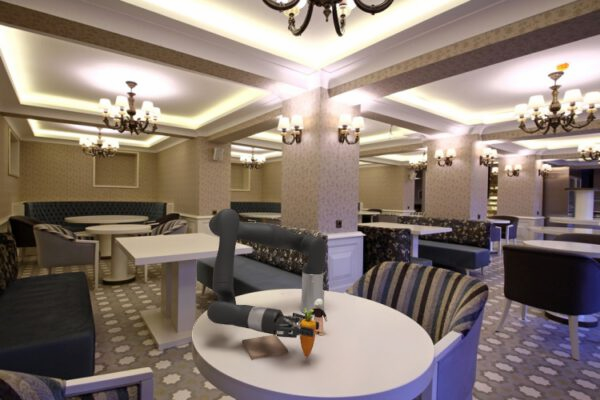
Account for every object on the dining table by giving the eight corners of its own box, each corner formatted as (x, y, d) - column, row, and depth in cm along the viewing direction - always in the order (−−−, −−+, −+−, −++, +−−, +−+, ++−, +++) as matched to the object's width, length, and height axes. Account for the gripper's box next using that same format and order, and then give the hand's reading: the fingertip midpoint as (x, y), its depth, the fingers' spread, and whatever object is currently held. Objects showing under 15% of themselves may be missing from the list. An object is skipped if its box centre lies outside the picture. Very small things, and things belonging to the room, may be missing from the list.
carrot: (298, 353, 97) (299, 305, 97) (313, 353, 97) (315, 305, 97) (299, 361, 92) (301, 311, 92) (316, 361, 92) (317, 311, 92)
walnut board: (275, 337, 110) (275, 334, 110) (288, 352, 100) (288, 349, 100) (242, 342, 105) (242, 339, 105) (251, 359, 95) (251, 356, 95)
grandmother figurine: (329, 332, 116) (330, 298, 116) (326, 336, 112) (327, 301, 112) (309, 329, 118) (310, 296, 118) (306, 333, 115) (307, 298, 115)
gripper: (255, 316, 93) (309, 326, 87) (275, 301, 106) (323, 309, 100) (254, 341, 93) (308, 352, 87) (274, 323, 106) (322, 332, 100)
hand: (316, 329), depth 94 cm, fingers closed on carrot, 4 cm apart
